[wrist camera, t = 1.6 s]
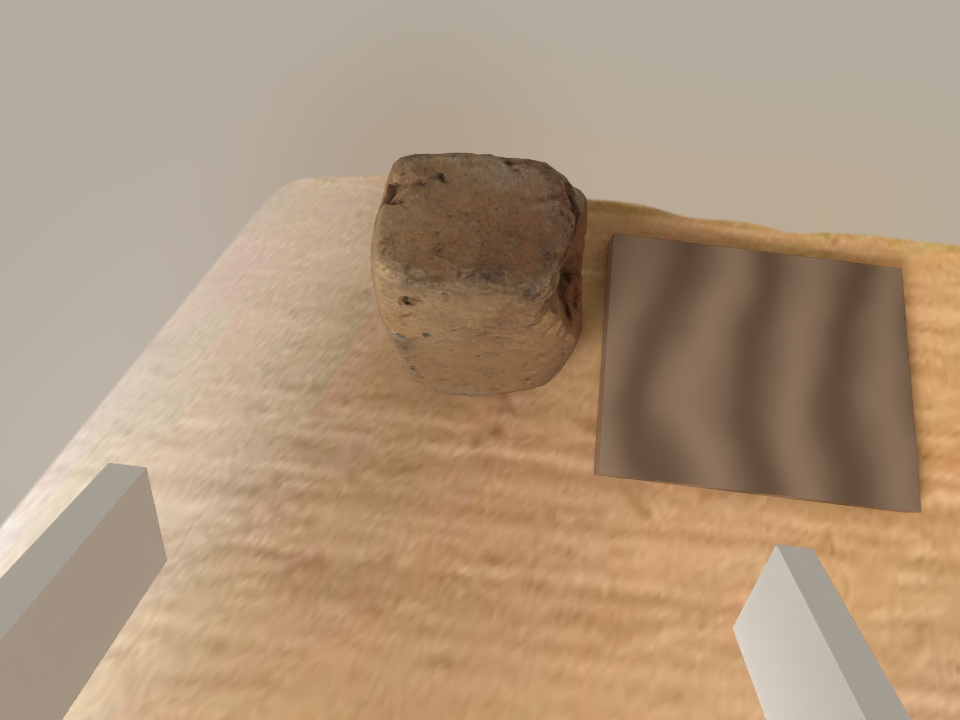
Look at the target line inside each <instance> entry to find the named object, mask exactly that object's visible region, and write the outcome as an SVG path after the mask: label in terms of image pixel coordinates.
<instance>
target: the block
mask: <svg viewBox="0 0 960 720" xmlns="http://www.w3.org/2000/svg"><path fill="white" fill-rule="evenodd" d="M586 225H587V203H586V197H585V196H584V194H583V193H582V192H581V191H580V190H579V189H577V188H575V187H573V186H572V185H571V184H570V182H569V181H568V180H567V178H566V177H565V176H564V175H562V174H561V173H559V172H558V171H556V170H555V169H554V168H552V167H551V166H550V165H549V164H547V163H545V162H539V161H535V160H530V159H519V158H503V157H496V156H494V155H491V154H486V155H485V154H482V155H477V154H473V153H445V154H414V155H410V156H406V157H402V158H400V159H398V160H397V161H396V162H395V163H394V164H393V166H392V169H391V171H390V173H389V176H388V180H387V183H386V187H385V190H384V194H383V198H382V201H381V204H380V207H379V210H378V213H377V216H376V220H375V225H374V231H373V238H372V244H371V273H372V280H373V287H374V291H375V295H376V298H377V302H378V307H379V310H380V314H381V317H382V320H383V322H384V325H385V328H386V331H387V334H388V336H389V339H390V343H391V345H392V348H393V352H394V353H395V355H396V358H397V360H398V363H399V364H400V365H401V367H402V369H403V371H404V373H405V374H406V376H407V377H408V378H410V379H411V380H413V381H415V382H418V383H421V384H423V385H424V386H425V387H426V388H428V389H430V390H431V391H436V392H441V393H447V394H455V395H469V396H477V395H484V396H489V395H493V394H504V393H512V392H515V391H519V390H531V389H534V388H536V387H539V386H542V385H544V384H546V383H547V382H549V381H550V380H551V379H552V378H553V377H555V376H556V374H557V373H558V372H559V371H560V370H561V369H562V367H563V366H564V364H565V363H566V361H567V360H568V358H569V357H570V355H571V353H572V352H573V350H574V348H575V346H576V344H577V341H578V338H579V335H580V332H581V328H582V276H581V269H582V259H583V251H584V235H585V234H586Z"/></svg>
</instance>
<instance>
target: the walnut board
mask: <svg viewBox="0 0 960 720" xmlns="http://www.w3.org/2000/svg"><path fill="white" fill-rule="evenodd" d="M594 475H602V476H610V477H618V478H627V479H635V480H643V481H651V482H659V483H667V484H676V485H684V486H692V487H700V488H708V489H717V490H725V491H733V492H741V493H749V494H758V495H766V496H774V497H782V498H790V499H799V500H807V501H815V502H823V503H831V504H839V505H848V506H856V507H864V508H872V509H880V510H889V511H897V512H905V513H906V512H921V499H920V487H919V475H918V463H917V451H916V438H915V426H914V414H913V402H912V390H911V378H910V365H909V353H908V341H907V329H906V317H905V304H904V292H903V280H902V269H901V268H893V267H884V266H876V265H868V264H860V263H852V262H844V261H835V260H827V259H819V258H811V257H803V256H795V255H787V254H778V253H770V252H762V251H754V250H746V249H738V248H730V247H721V246H713V245H705V244H697V243H689V242H681V241H673V240H664V239H656V238H648V237H640V236H632V235H624V234H616V233H614V234H613V236H612V237H611V239H610V241H609V247H608V263H607V278H606V294H605V309H604V325H603V340H602V356H601V372H600V387H599V403H598V418H597V434H596V449H595V465H594Z"/></svg>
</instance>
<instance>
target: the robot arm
mask: <svg viewBox="0 0 960 720" xmlns="http://www.w3.org/2000/svg"><path fill="white" fill-rule="evenodd" d="M166 561H167V558H166V553H165V549H164V544H163V540H162V536H161V531H160V527H159V522H158V518H157V513H156V509H155V504H154V500H153V496H152V491H151V487H150V482H149V478H148V473H147V469H146V467H138V466H129V465H121V464H113V463H108V465H107V466H106V467H105V468H104V469H103V470H102V471H101V472H100V473H99V474H98V475H97V476H96V477H95V478H94V479H93V480H92V482H91V483H90V484H89V485H88V486H87V487H86V488H85V489H84V490H83V491H82V492H81V493H80V494H79V495H78V496H77V498H76V499H75V500H74V501H73V502H72V503H71V504H70V505H69V506H68V507H67V508H66V509H65V510H64V511H63V512H62V513H61V515H60V516H59V517H58V518H57V519H56V520H55V521H54V522H53V523H52V524H51V525H50V526H49V527H48V528H47V529H46V531H45V532H44V533H43V534H42V535H41V536H40V537H39V538H38V539H37V540H36V541H35V542H34V543H33V544H32V545H31V546H30V548H29V549H28V550H27V551H26V552H25V553H24V554H23V555H22V556H21V557H20V558H19V559H18V560H17V561H16V562H15V564H14V565H13V566H12V567H11V568H10V569H9V570H8V571H7V572H6V573H5V574H4V575H3V576H2V577H1V578H0V720H62V719H63V718H64V716H65V715H66V713H67V712H68V710H69V709H70V707H71V705H72V704H73V702H74V701H75V699H76V698H77V696H78V695H79V693H80V692H81V690H82V689H83V687H84V686H85V684H86V683H87V681H88V680H89V678H90V677H91V675H92V673H93V672H94V670H95V669H96V667H97V666H98V664H99V663H100V661H101V660H102V658H103V657H104V655H105V654H106V652H107V651H108V649H109V648H110V646H111V645H112V643H113V642H114V640H115V638H116V637H117V635H118V634H119V632H120V631H121V629H122V628H123V626H124V625H125V623H126V622H127V620H128V619H129V617H130V616H131V614H132V613H133V611H134V610H135V608H136V607H137V605H138V603H139V602H140V600H141V599H142V597H143V596H144V594H145V593H146V591H147V590H148V588H149V587H150V585H151V584H152V582H153V581H154V579H155V578H156V576H157V575H158V573H159V572H160V570H161V568H162V567H163V565H164V564H165V562H166ZM733 630H734V633H735V636H736V638H737V641H738V644H739V647H740V649H741V652H742V655H743V658H744V660H745V663H746V666H747V669H748V671H749V674H750V677H751V679H752V682H753V685H754V688H755V690H756V693H757V696H758V699H759V701H760V704H761V707H762V709H763V712H764V715H765V718H766V720H911V718H910V717H909V715H908V713H907V711H906V710H905V708H904V706H903V704H902V703H901V701H900V699H899V698H898V696H897V694H896V692H895V691H894V689H893V687H892V685H891V684H890V682H889V680H888V678H887V677H886V675H885V673H884V672H883V670H882V668H881V666H880V665H879V663H878V661H877V659H876V658H875V656H874V654H873V652H872V651H871V649H870V647H869V646H868V644H867V642H866V640H865V639H864V637H863V635H862V633H861V632H860V630H859V628H858V626H857V625H856V623H855V621H854V620H853V618H852V616H851V614H850V613H849V611H848V609H847V607H846V606H845V604H844V602H843V600H842V599H841V597H840V595H839V594H838V592H837V590H836V588H835V587H834V585H833V583H832V581H831V580H830V578H829V576H828V574H827V573H826V571H825V569H824V568H823V566H822V564H821V562H820V561H819V559H818V557H817V555H816V554H815V552H814V550H813V549H810V548H802V547H793V546H785V545H777V544H776V546H775V548H774V550H773V552H772V554H771V556H770V558H769V560H768V562H767V563H766V565H765V567H764V569H763V571H762V573H761V575H760V577H759V579H758V581H757V583H756V584H755V586H754V588H753V590H752V592H751V594H750V596H749V598H748V600H747V602H746V604H745V605H744V607H743V609H742V611H741V613H740V615H739V617H738V619H737V621H736V623H735V625H734V627H733Z"/></svg>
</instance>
